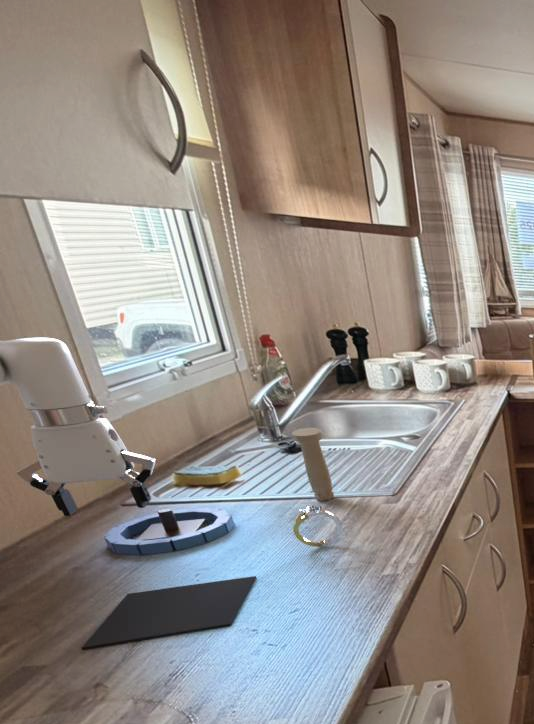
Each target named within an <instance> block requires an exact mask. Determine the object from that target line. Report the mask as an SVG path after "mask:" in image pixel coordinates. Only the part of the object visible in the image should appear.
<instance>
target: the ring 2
mask: <svg viewBox="0 0 534 724" xmlns="http://www.w3.org/2000/svg"><path fill="white" fill-rule="evenodd" d="M317 515H321V516H322V515H323V516H326V517H328V518H329V519H331V520H332V521H333V522H334V523H335V525H336V532H335V534H334V535H333V537H331V538H330V539H328V540H319V541H312V540H309V539H307V538H305V537H304V536H303V535H302V534H301V533H300V527H301V524H302V523H304V522H305V521H306V520H308V519H310V517H314V516H317ZM342 528H343V527H342V522H341V520H340V518H339V517H338V516H337V515H336V514H334V513H333V512H331V511H330V510H325V509H323V508H322V506H321V505H319V507H317V506H315V504H314V505H310V506H307V507H306V508H304V509H303V510H302V509H299V514H297V516H296V518H295V520H294V523H293V528H292V530H293V535H294V536H295V537H296V539H297V540H298V541H299V542H301V543H302V544H304V545H307V546H309V547H315V548H321V547H323V548H326V547H327V546H330V545H332V544H333V543H335V542H336V541H337V540H338V539H339V537H340V535H341V533H342Z"/></svg>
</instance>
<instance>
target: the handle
mask: <svg viewBox="0 0 534 724" xmlns="http://www.w3.org/2000/svg"><path fill="white" fill-rule="evenodd" d="M291 436H292V439H293V441H294V442H297V443H299V445H300V448H301V453H302V457H303V458H302V459H303V462H304V466H305V471H306V476H307V479H308V482H309V485H310V488H311V490H312V492H313V494H314V498H315V500H316V501H320V502H324V501H330V500H331V499H334V497H335V493H334V491H333V490H334V489H333V483H332V478H331V473H330V470H329V467H328V464H327V462H326V459H325V456H324V453H323V450H322V446H321V443H320V441H321V440H322V439H323V432H322V429H320V428H318V427H303V428H298V429H295V430H293V431H292V433H291Z"/></svg>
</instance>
